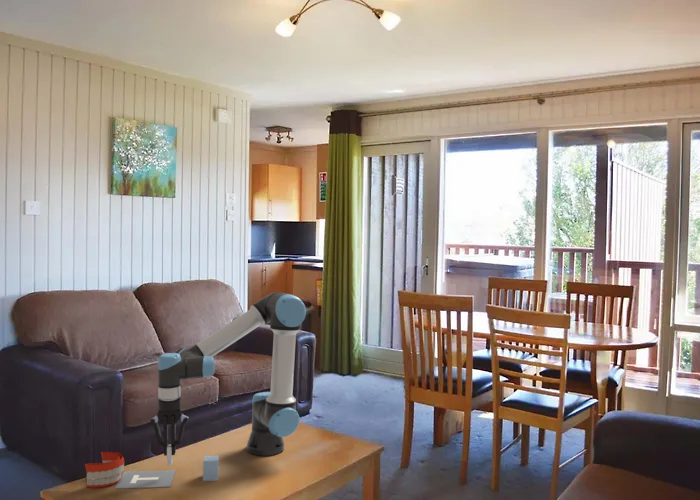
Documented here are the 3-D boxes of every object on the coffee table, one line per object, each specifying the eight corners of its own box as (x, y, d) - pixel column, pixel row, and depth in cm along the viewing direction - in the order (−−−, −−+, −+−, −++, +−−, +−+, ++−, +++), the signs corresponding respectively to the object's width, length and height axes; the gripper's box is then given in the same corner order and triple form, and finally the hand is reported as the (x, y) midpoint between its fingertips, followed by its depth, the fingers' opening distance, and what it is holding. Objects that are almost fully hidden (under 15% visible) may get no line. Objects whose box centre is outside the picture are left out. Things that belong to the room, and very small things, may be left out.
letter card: (175, 471, 214) (175, 470, 214) (170, 487, 200) (170, 486, 200) (123, 472, 211) (123, 471, 211) (114, 489, 197) (114, 488, 197)
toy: (114, 489, 196) (114, 465, 196) (84, 488, 197) (84, 465, 197) (130, 474, 209) (130, 452, 209) (102, 473, 209) (102, 451, 209)
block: (218, 474, 212) (218, 455, 212) (217, 480, 207) (218, 460, 207) (204, 475, 212) (204, 456, 211) (202, 481, 207) (203, 461, 206)
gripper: (189, 394, 211) (190, 458, 212) (152, 395, 209) (152, 460, 210) (187, 400, 204) (187, 467, 205) (148, 401, 202) (148, 469, 203)
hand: (169, 463), depth 207 cm, fingers closed
